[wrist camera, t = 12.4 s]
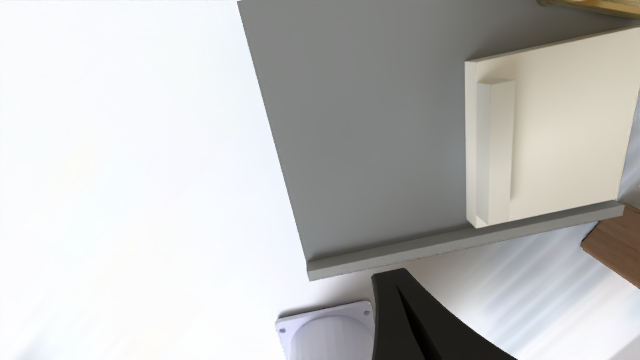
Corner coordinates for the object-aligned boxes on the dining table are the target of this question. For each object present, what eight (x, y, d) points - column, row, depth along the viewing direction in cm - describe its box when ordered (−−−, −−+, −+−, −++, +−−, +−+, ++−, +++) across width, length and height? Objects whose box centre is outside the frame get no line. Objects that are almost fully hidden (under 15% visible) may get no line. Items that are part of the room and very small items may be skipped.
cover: (599, 190, 21) (637, 208, 18) (466, 219, 21) (487, 239, 18) (628, 26, 17) (682, 22, 14) (464, 61, 17) (491, 63, 14)
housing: (582, 200, 23) (621, 220, 20) (309, 258, 23) (310, 286, 21) (625, -77, 17) (691, -103, 14) (243, 6, 17) (232, -2, 14)
